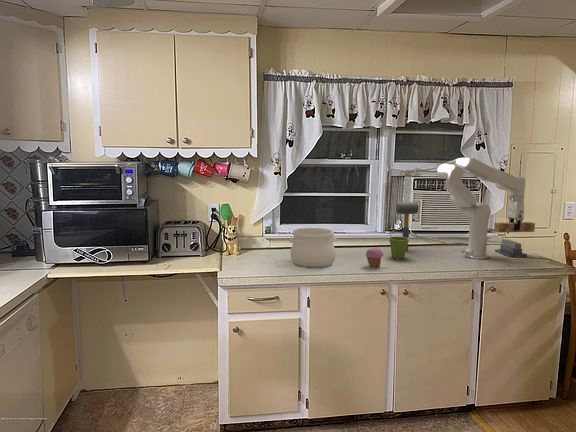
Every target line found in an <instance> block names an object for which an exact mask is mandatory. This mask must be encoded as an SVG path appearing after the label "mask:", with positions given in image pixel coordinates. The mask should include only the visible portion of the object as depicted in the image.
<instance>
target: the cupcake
mask: <svg viewBox="0 0 576 432" xmlns="http://www.w3.org/2000/svg"><path fill="white" fill-rule="evenodd" d="M365 257H366V259H367V264H368V265H369V266H370V267H374V268H376V267H380V266H381V261H382V260H381V259H382V258H383V257H384V253H383V250H382V249H381V248H378V247H370V248H368V249H367V250H366V253H365Z"/></svg>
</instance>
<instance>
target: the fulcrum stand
mask: <svg viewBox="0 0 576 432" xmlns="http://www.w3.org/2000/svg"><path fill="white" fill-rule="evenodd" d="M494 253H498V254H499V255H502V256H506V257H508V258H521V257H522V258H527V257H528V254H527V253H526V252H523V248H522V243H520V242H516V241H513V240H510V239H502V240H501V244H500V247H499V248H497V249H494Z"/></svg>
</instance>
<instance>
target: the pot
mask: <svg viewBox="0 0 576 432" xmlns="http://www.w3.org/2000/svg"><path fill="white" fill-rule="evenodd" d="M292 235H293V237H290V238H289V243H291V244H292V246H291V248H290V260H291V261H292V262H293V264H295V265H297V266H299V267H302V266H303V267H302V268H311V267H317V268H324V267H329V266H331V265H332V264H333V263H334V262H335V259H336V254H337V252H336V248H335V246H334V242H336V241H337V236H336V235H335V232H334V230H331V229H328V228H320V227H304V228H296V229H293V231H292Z"/></svg>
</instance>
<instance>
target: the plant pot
mask: <svg viewBox="0 0 576 432" xmlns="http://www.w3.org/2000/svg"><path fill="white" fill-rule="evenodd" d="M410 240H411V238H406V237H403V236H389V237H388V241H389V245H390V253H391V258H393V259H398V260H400V259H405V257H406V253H407V250H406V249H407V244H408V245H409V241H410Z"/></svg>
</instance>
